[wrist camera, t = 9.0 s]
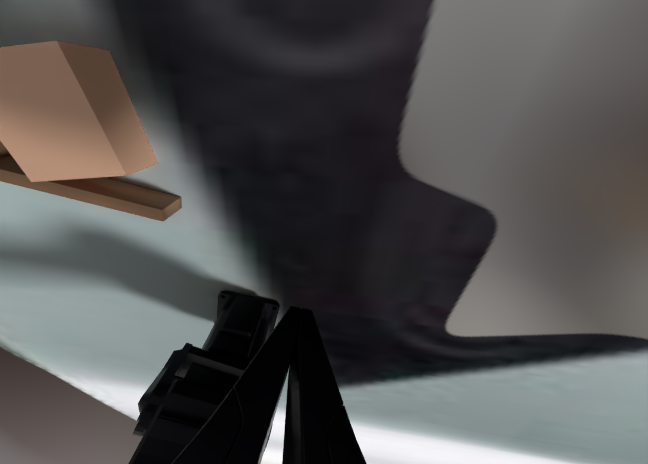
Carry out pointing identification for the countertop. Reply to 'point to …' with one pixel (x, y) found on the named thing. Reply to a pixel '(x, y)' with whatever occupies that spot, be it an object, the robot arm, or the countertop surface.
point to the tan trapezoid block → (68, 113)
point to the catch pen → (96, 191)
